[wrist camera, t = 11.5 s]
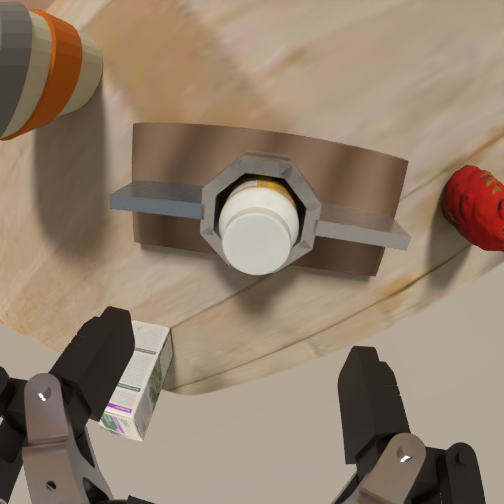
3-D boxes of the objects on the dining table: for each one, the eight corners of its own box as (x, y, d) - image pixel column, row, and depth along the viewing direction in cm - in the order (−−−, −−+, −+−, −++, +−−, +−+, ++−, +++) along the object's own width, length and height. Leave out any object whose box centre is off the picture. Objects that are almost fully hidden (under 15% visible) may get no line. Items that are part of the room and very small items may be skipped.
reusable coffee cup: (140, 41, 20) (31, 6, 7) (84, 147, 26) (-26, 188, 12) (66, 13, 18) (-31, -5, 5) (22, 105, 23) (-73, 127, 10)
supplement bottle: (221, 186, 25) (192, 227, 17) (275, 157, 24) (275, 183, 15) (251, 236, 27) (239, 297, 18) (304, 211, 26) (317, 263, 17)
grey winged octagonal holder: (399, 178, 23) (423, 193, 19) (376, 260, 27) (392, 288, 23) (137, 142, 24) (109, 149, 19) (137, 226, 28) (114, 248, 23)
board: (402, 158, 24) (408, 161, 22) (371, 269, 29) (375, 276, 28) (140, 122, 24) (133, 123, 23) (140, 236, 30) (134, 242, 28)
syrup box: (131, 318, 35) (81, 403, 22) (172, 326, 35) (132, 420, 22) (137, 347, 38) (97, 428, 25) (175, 356, 38) (143, 444, 25)
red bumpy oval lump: (490, 210, 24) (574, 275, 11) (448, 240, 27) (525, 324, 13) (472, 151, 22) (576, 196, 9) (426, 182, 24) (524, 249, 11)
